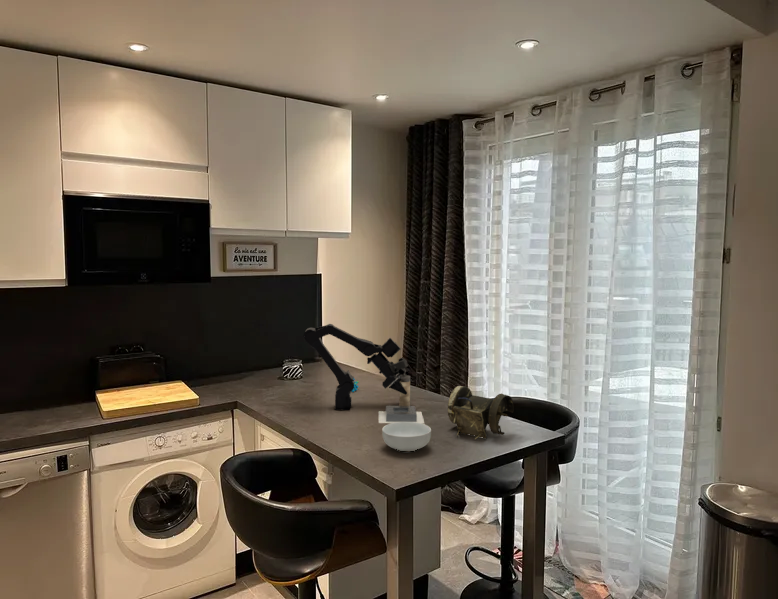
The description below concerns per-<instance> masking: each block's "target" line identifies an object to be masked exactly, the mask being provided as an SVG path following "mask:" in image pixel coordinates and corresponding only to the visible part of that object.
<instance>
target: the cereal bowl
mask: <svg viewBox="0 0 778 599" xmlns="http://www.w3.org/2000/svg"><path fill="white" fill-rule="evenodd" d="M381 433H382V434H381V436H382V439H383V441H384V443H385V444H386V446H388V447H390V448H392V449H394V450H396V449H397V450H396V451H398V450H400V451H414V452H416V451H415V450H417V449H418V450H419V449H422V448H423V447H425V446H426V445H428V443H429V442H430V441H431V437H432V429H431V427H430V425H428V424H421V423H416V422H396V423H387V424H386V425H384V426H383V427H382V428H381ZM418 450H417V451H418ZM400 451H399V452H400Z"/></svg>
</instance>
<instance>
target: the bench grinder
mask: <svg viewBox="0 0 778 599" xmlns="http://www.w3.org/2000/svg"><path fill="white" fill-rule="evenodd" d="M514 409H515V407H514V401H513V398H512V397H511V396H510V395H508V394H503V393H498V394H497V395H496V396H494V398H493V399H492V398H490V397H483V396H479V395H473V393H472V391H471V389H470V388H469V387H468V386H461V385H458V386H456V387H455V388H453V390H451V393H450V396H449V399H448V402H447V416H448V419H449V421H450V422H451V423H452V424H455V425H456V428H457V433H456V436H459V434H462V433H465V434H464V435H466V434H470V435H475V436H477V437H474V440H477V439H478V437H483V438H486V439H487V436H488V434H487V431H486V429H487V426H488V427H489V430H490V431H491V433H492V434H495V435H498V436H504V435H505V432H504V431H502V428H501V425H499V423H500V420H501V417H508V414H507V413H504V412H510V413H514ZM459 432H461V433H459ZM470 435H469V436H470Z"/></svg>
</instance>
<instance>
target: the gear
mask: <svg viewBox="0 0 778 599" xmlns="http://www.w3.org/2000/svg"><path fill="white" fill-rule="evenodd" d="M358 383H359V380H357V381H356V379H355V378H354V389H353V390H352V391H351V392H352V393H355V392H357V391H358V390H359V389H358V388H360V387H359V385H358ZM356 390H357V391H356ZM354 391H355V392H354Z"/></svg>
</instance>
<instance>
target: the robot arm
mask: <svg viewBox="0 0 778 599" xmlns="http://www.w3.org/2000/svg"><path fill="white" fill-rule="evenodd" d="M328 335H330V336H333V337H335V338H336V339H338V340H340V341H342V342H345V343H346V344H348V345H351V346H352V347H353V348H355V349H356V350H357V351H359V352H360V353H362V354H363V355H364V356H366V359H367V361H366V362H367V364H368V365H369V364H371V363H372V364H373V365H374V366H375V367H376V368H377V370H378V371H379V372H378V373H379V374H380V375H383V376H384V377H385V379H384V381H382V384H381V385H382V387H383V388H384V389H385V390H386V389H387V388H389V389H392V390H394V391H396V392H398V393H400V392H401V393H403V394H405V395H406V394H407V391H406V390H405V388H404V387H403V385H402V384H401V382H400V376H401V375H406V372H407V369H406V368H407V367H409V364H408V360H406V358H404V357H400V358H398V361H397V362H395V363H394V362H393V361H390V360H388V358H393V357H394V356H395V355H396V354H398V352H400V351H401V349H402V348H401V347H400V345H399V344H398V343H397V342H396V341H394V340H393V339H392V338H391V337H389V338H388V339H387V341H385V342H384V343H383V344H382V345H381V344H376V343H374V342H373V341H371V340H368V339H364V338H360V337H358V336H355V335H353V334H351V333H349V332H347V331H345V330H343V329H341V328H339V327H337V326H335V325H334V324H332V323H328V324H326V325H322V326H318V327H316V328H315V327H308V328H307V329H305V331H304V332H303V340H304V341H305V342H306V344H308V345H309V346H310V347H311V348H312V349H314V350H315V351H316V352H317V353H318V355H319V356H320V357H321V359H322V360H323V361H324V362H325V364H326V365H327V366H328V368H329V369H330V371H331V372H332V373H333V375H334V377H335V378H336V381H337V383H338V385H337V386H336V387H335V394H334V396H335V397H334V400H335V401H334V402H335V403H334V410H336V411H350V410H351V408H352V396H351V392H352V390H353V389H354V382H355V380H354V379H355V377H354V376H353V375H352V374H351V372H350V370H346V371H345V370H344V369H343V368H342V366H340V364H339V363H338V362H337V360H336V358H334V356H333V355H332V354H331V352H330V351H329V350H328V348H327V346H325V345H324V342H323V339H322V338H323V337H325V336H328ZM354 390H355V389H354Z"/></svg>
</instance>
